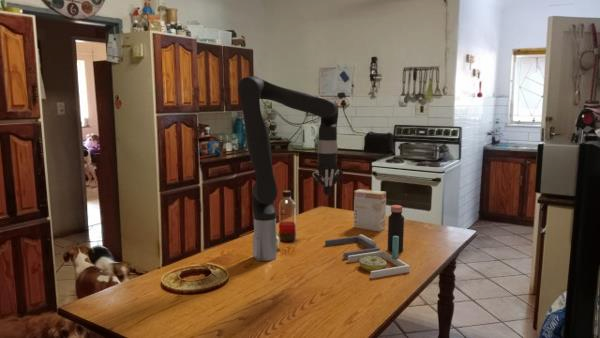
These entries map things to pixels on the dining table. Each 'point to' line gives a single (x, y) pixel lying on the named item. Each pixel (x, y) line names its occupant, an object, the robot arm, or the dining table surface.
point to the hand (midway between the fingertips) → (327, 195)
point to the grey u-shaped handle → (360, 239)
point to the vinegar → (395, 227)
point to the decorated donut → (372, 263)
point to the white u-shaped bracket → (392, 258)
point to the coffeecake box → (369, 209)
